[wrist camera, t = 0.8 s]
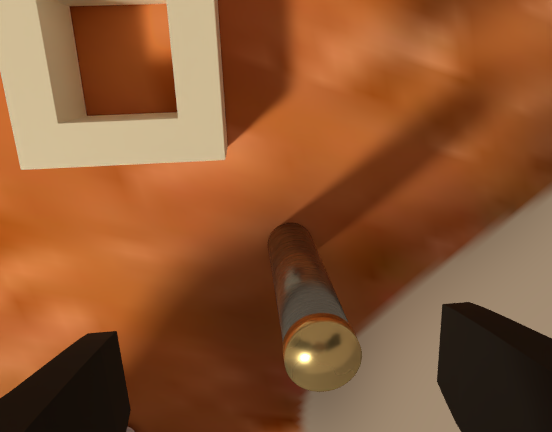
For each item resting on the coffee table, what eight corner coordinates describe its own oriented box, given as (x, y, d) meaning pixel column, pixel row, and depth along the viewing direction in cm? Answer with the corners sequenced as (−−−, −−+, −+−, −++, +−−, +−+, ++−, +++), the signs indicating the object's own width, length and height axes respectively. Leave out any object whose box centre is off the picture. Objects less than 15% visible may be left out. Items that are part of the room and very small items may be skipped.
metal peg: (313, 264, 21) (360, 388, 12) (267, 267, 21) (285, 394, 12) (313, 220, 20) (362, 321, 12) (265, 223, 20) (283, 327, 12)
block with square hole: (227, 146, 19) (225, 159, 16) (55, 155, 18) (20, 169, 15) (214, -42, 17) (209, -67, 14) (19, -38, 16) (-28, -62, 13)
